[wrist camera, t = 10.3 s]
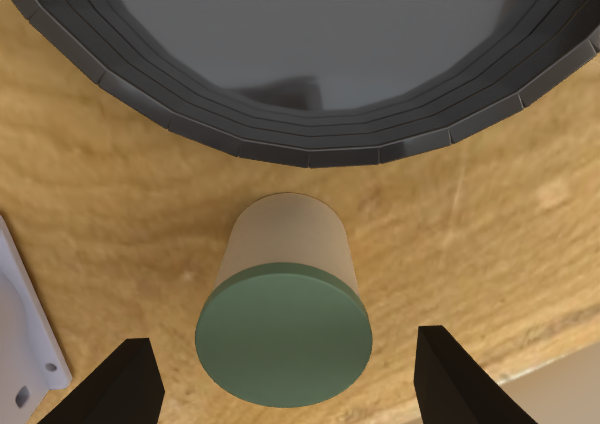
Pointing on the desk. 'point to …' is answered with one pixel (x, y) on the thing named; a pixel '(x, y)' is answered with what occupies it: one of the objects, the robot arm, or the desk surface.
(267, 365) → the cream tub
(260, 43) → the pan
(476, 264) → the desk surface
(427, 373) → the robot arm
